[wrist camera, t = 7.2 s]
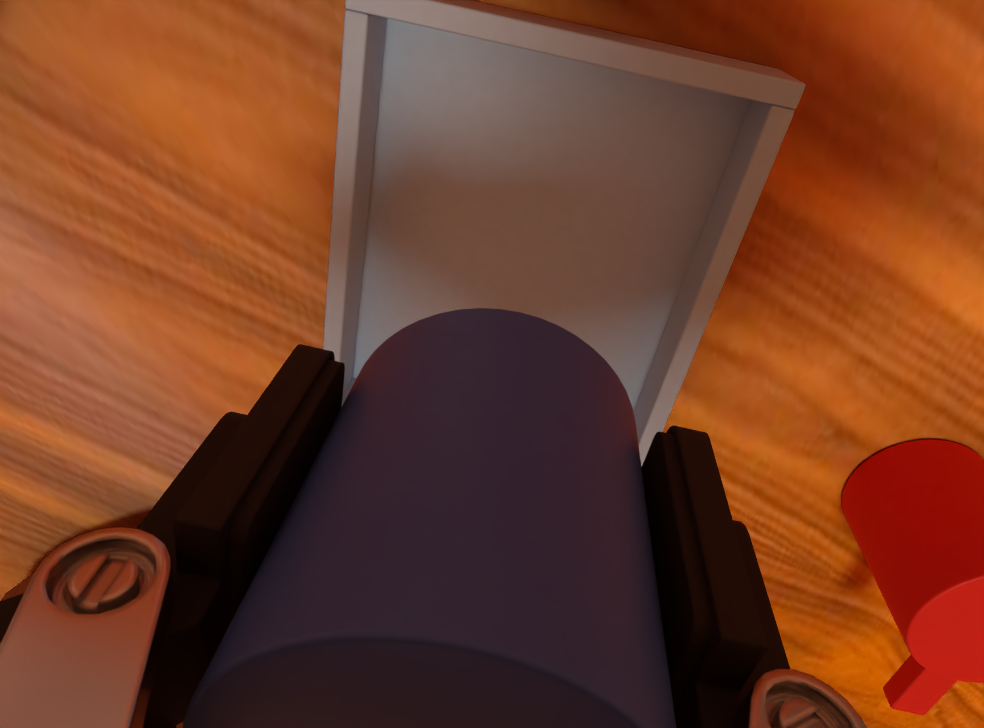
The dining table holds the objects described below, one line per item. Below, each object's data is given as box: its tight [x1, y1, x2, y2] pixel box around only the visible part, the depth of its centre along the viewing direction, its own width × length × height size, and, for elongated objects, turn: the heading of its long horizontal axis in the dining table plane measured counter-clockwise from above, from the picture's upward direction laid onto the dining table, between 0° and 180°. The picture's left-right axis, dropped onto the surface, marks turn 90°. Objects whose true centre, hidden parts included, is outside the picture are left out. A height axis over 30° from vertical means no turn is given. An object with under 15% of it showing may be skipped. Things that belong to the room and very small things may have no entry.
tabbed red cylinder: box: [842, 439, 984, 715], centre depth 23 cm, size 8×5×6 cm, turn 169°
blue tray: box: [323, 0, 805, 467], centre depth 20 cm, size 13×11×2 cm
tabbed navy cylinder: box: [183, 308, 676, 728], centre depth 10 cm, size 8×5×6 cm, turn 169°
